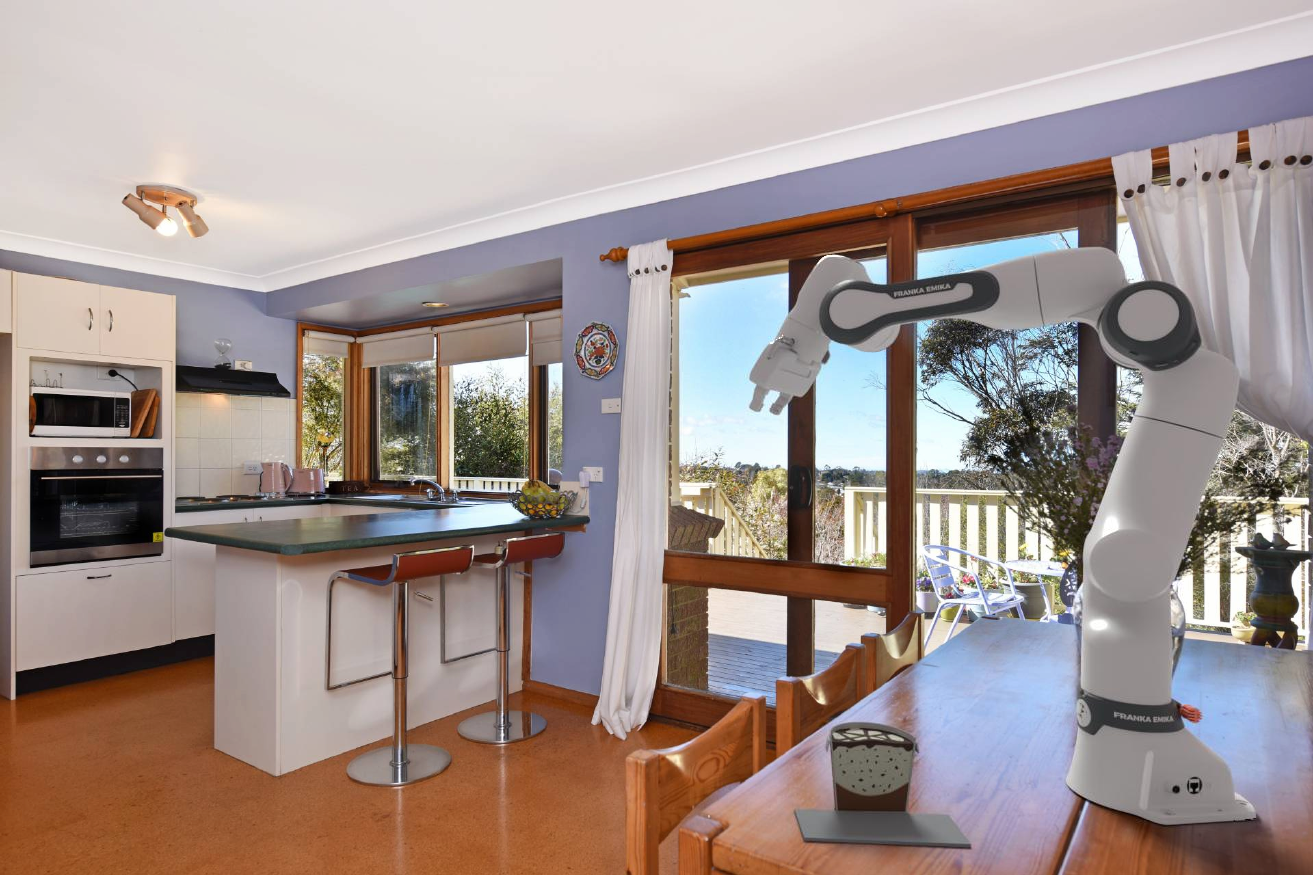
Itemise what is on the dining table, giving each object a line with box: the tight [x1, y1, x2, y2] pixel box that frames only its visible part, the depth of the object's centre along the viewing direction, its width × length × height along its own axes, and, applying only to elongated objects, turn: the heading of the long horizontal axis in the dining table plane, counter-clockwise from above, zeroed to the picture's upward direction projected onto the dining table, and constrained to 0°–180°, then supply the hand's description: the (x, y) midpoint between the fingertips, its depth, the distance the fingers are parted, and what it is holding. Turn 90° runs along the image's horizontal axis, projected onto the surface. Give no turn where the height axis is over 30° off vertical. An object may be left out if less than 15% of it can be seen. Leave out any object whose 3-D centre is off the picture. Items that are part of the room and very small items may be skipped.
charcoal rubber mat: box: [793, 808, 972, 848], centre depth 96 cm, size 20×8×1 cm, turn 89°
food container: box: [824, 721, 920, 813], centre depth 104 cm, size 12×6×10 cm, turn 92°
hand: (764, 412), depth 138 cm, fingers open, 8 cm apart
